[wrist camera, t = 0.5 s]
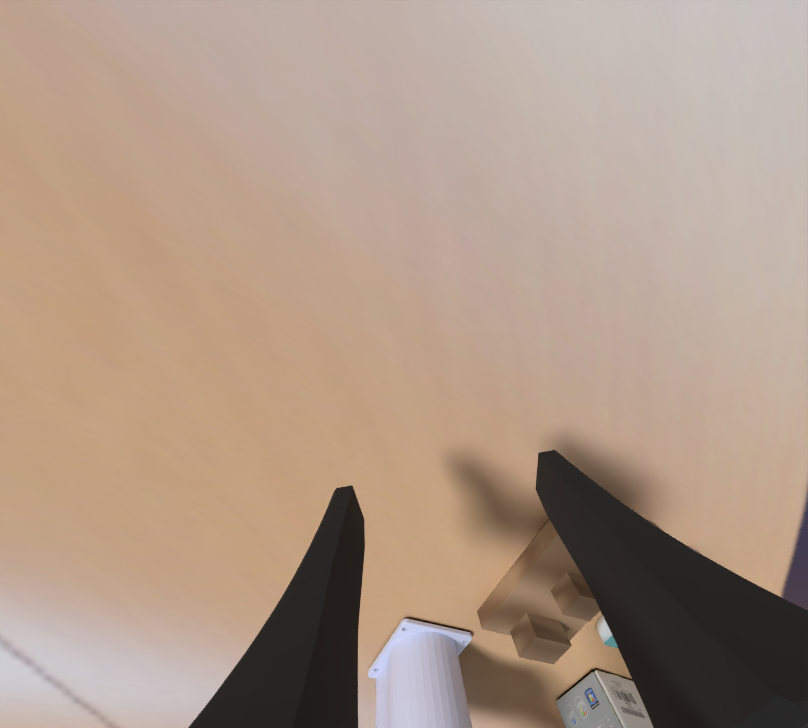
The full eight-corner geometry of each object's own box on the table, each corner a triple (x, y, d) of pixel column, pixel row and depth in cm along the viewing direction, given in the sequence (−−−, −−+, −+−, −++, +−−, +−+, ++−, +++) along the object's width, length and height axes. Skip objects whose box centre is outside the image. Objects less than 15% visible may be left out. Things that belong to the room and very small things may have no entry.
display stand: (555, 630, 32) (574, 672, 29) (477, 611, 30) (489, 654, 27) (653, 522, 28) (690, 558, 25) (569, 492, 26) (597, 526, 22)
